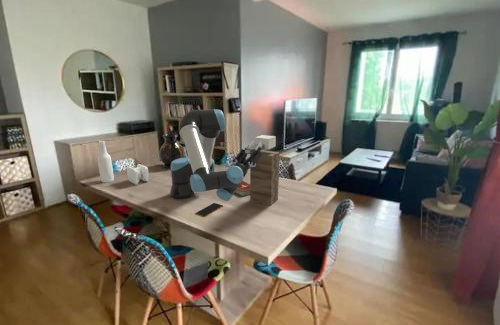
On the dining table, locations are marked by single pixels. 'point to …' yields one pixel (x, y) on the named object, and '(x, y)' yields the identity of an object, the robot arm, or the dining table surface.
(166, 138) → the amphora vase
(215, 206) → the smartphone
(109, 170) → the alcohol
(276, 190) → the stand
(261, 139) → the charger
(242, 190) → the hardcover book
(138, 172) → the cable organizer
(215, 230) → the dining table surface
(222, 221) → the dining table surface
